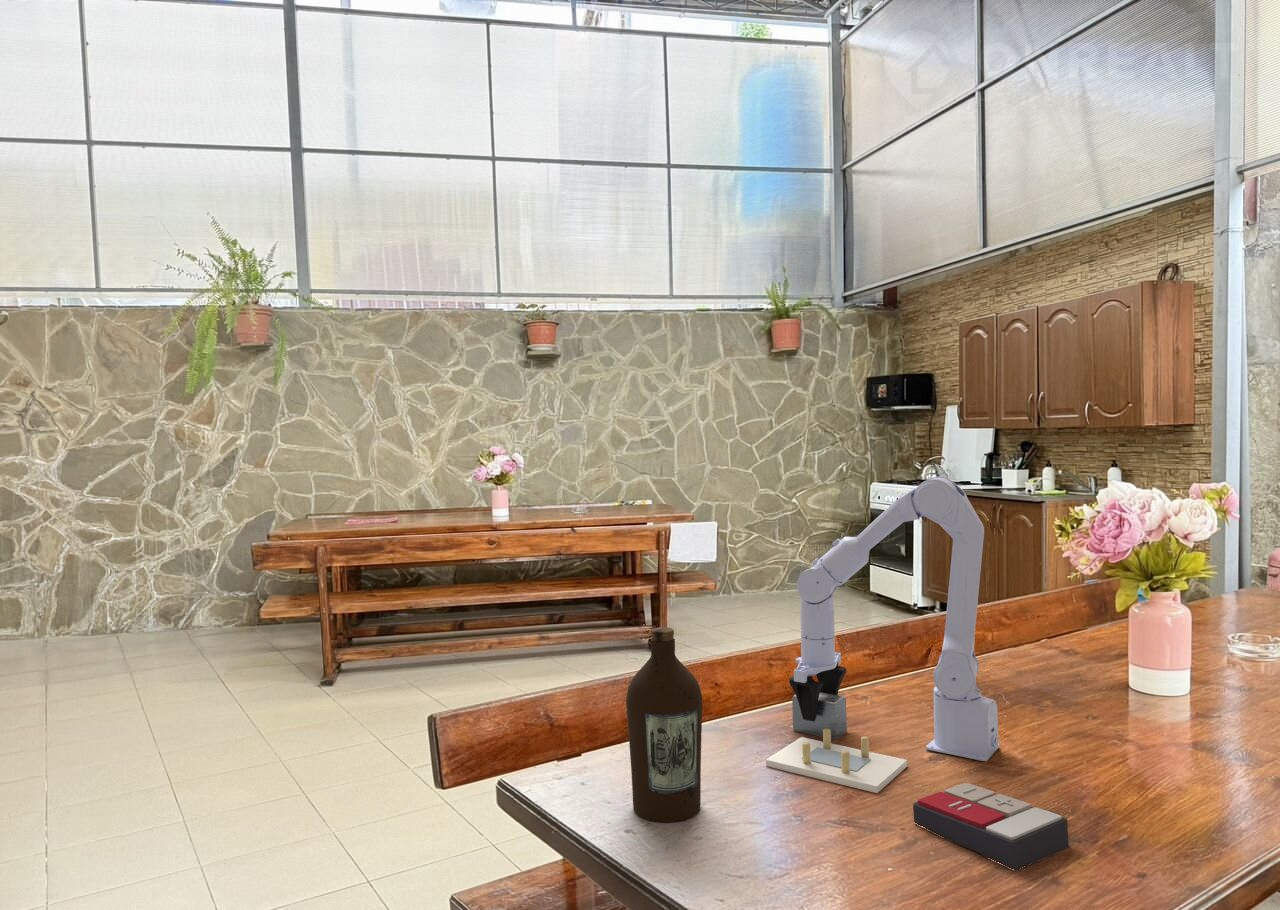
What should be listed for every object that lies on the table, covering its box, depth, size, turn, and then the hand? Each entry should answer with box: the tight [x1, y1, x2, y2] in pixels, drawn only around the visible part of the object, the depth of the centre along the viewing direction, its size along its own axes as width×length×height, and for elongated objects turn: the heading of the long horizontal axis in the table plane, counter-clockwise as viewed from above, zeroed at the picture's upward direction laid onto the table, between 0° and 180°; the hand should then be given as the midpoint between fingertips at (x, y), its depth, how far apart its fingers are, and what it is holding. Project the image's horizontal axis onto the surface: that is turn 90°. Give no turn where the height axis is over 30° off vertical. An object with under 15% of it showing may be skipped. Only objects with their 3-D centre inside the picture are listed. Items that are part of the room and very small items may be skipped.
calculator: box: [912, 782, 1070, 871], centre depth 107 cm, size 11×4×15 cm
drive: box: [791, 692, 848, 740], centre depth 146 cm, size 8×4×6 cm, turn 52°
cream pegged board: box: [765, 729, 908, 794], centre depth 130 cm, size 18×12×4 cm, turn 52°
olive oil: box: [625, 626, 703, 823], centre depth 117 cm, size 11×11×25 cm
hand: (819, 713), depth 146 cm, fingers open, 7 cm apart
